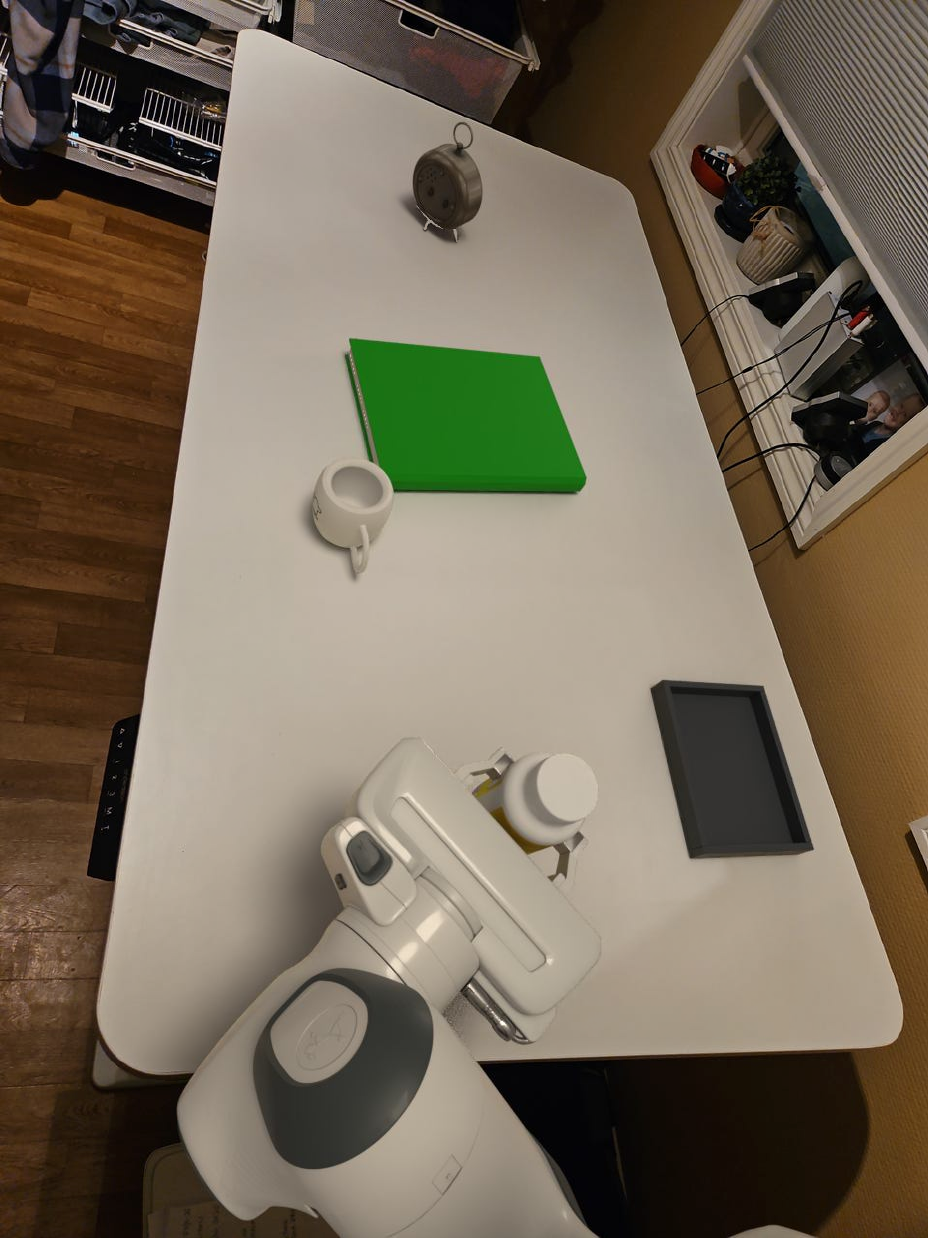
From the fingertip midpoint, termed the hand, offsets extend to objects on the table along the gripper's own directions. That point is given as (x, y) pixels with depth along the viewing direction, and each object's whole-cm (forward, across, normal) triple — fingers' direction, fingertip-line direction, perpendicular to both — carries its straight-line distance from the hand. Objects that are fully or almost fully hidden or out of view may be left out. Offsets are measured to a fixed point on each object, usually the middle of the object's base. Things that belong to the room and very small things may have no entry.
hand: (541, 794), depth 54 cm
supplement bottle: (-1, 0, +7) cm, 7 cm away
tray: (+29, -17, +19) cm, 38 cm away
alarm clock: (+66, +69, +25) cm, 99 cm away
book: (+39, +37, +22) cm, 58 cm away
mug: (+13, +32, +20) cm, 40 cm away
